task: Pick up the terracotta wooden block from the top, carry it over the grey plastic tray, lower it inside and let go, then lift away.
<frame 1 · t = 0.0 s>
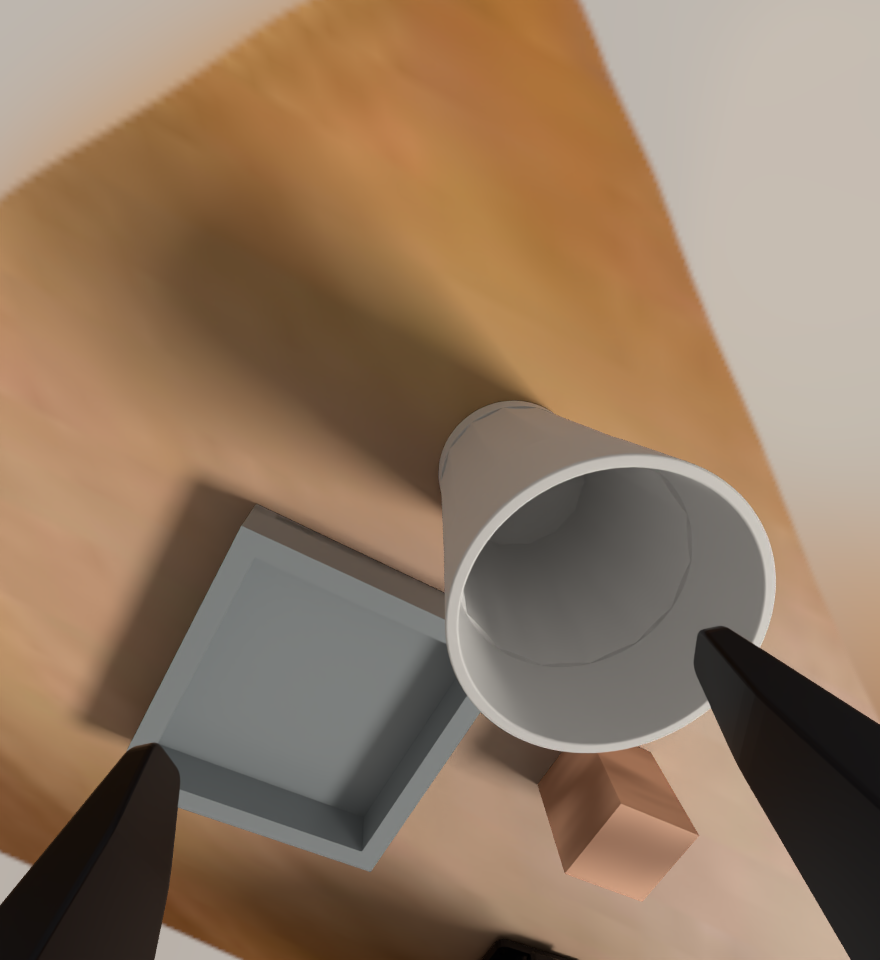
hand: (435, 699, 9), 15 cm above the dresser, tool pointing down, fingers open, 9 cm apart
tray: (320, 683, 27), on the dresser
block: (593, 767, 30), on the dresser
cup: (508, 470, 25), on the dresser
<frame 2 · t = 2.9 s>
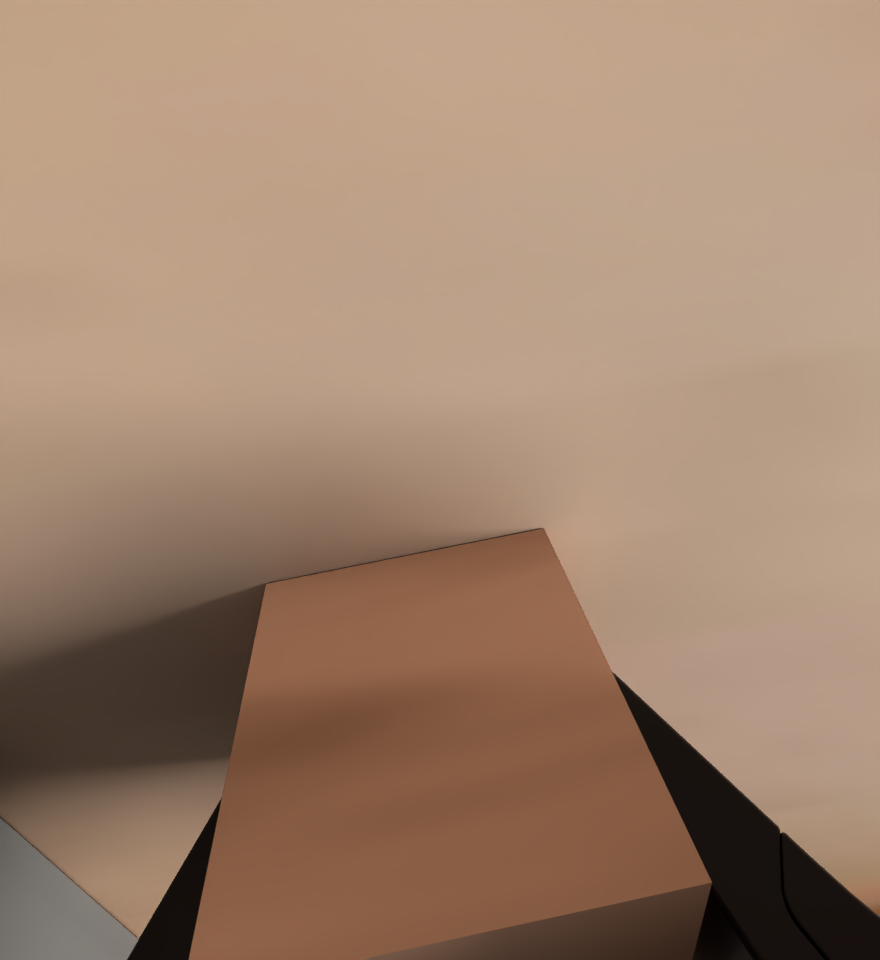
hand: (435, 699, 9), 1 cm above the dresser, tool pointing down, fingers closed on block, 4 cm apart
block: (428, 650, 10), on the dresser, touching gripper
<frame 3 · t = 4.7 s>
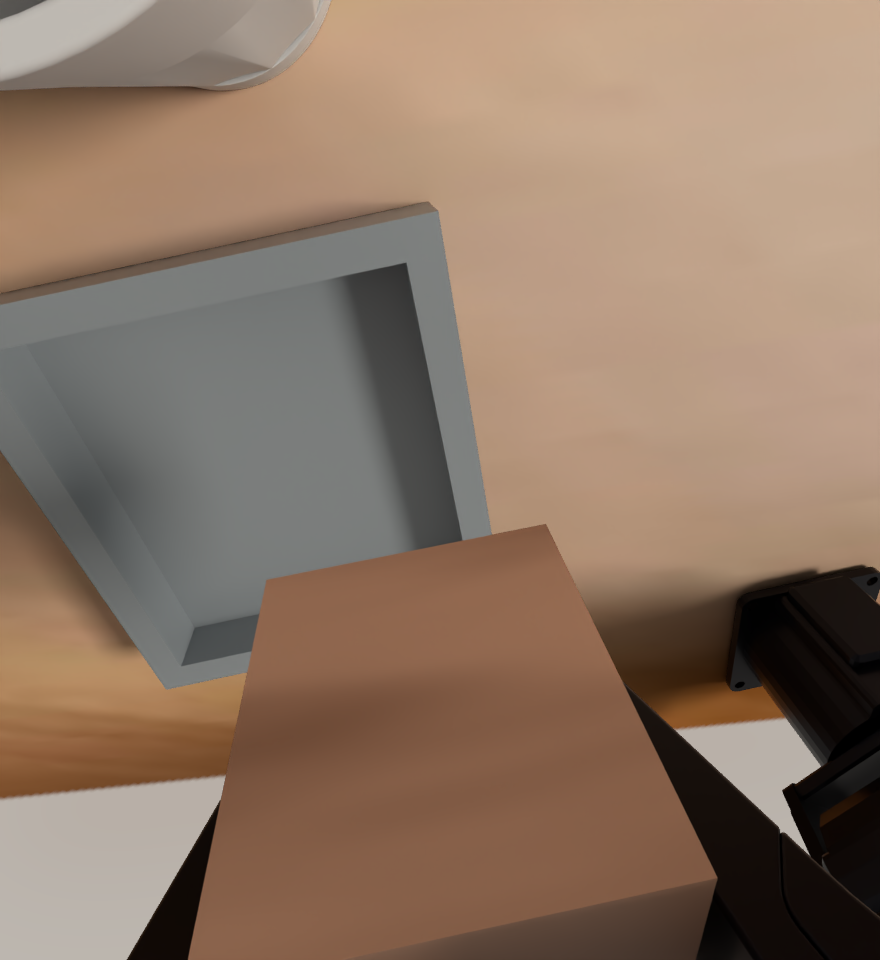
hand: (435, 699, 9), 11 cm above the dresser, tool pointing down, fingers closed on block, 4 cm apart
tray: (283, 462, 19), on the dresser
block: (429, 646, 10), point 10 cm above the dresser, touching gripper
when the fingers open (3 cm above the dresser, at t = 6.8 s): block drops 2 cm, resting on tray.
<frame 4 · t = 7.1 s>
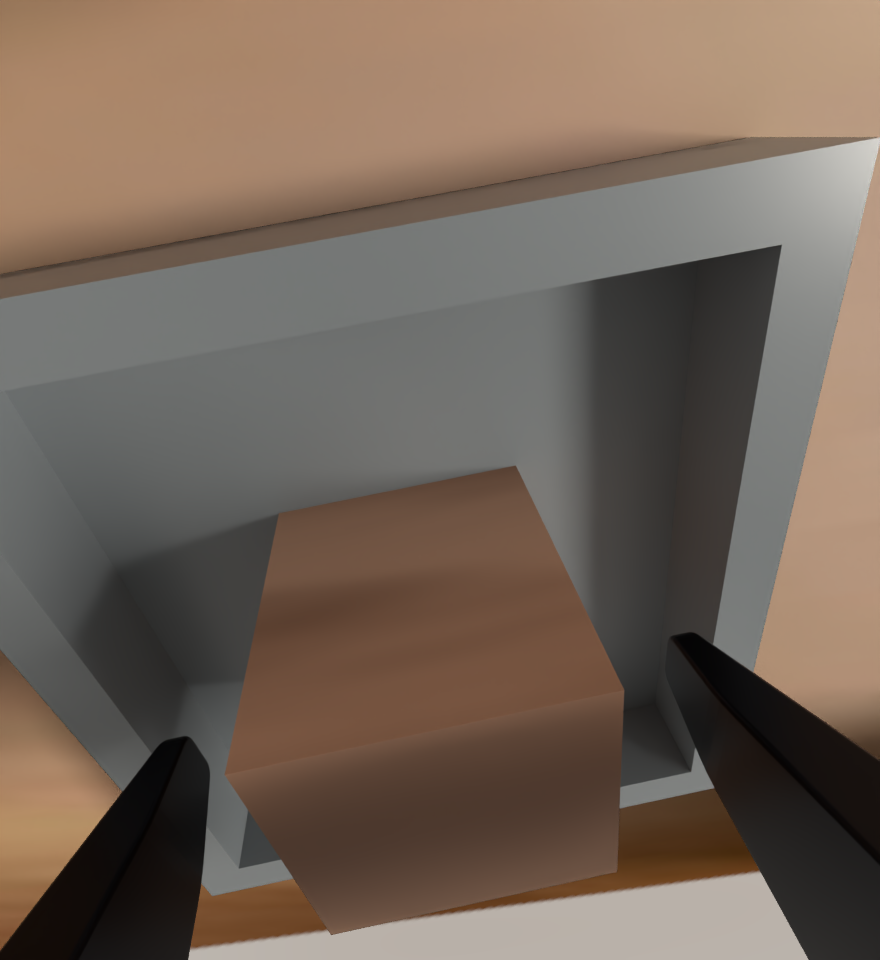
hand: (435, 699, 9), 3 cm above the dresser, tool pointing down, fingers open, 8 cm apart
tray: (414, 562, 12), on the dresser
block: (419, 577, 12), point 1 cm above the dresser, touching tray
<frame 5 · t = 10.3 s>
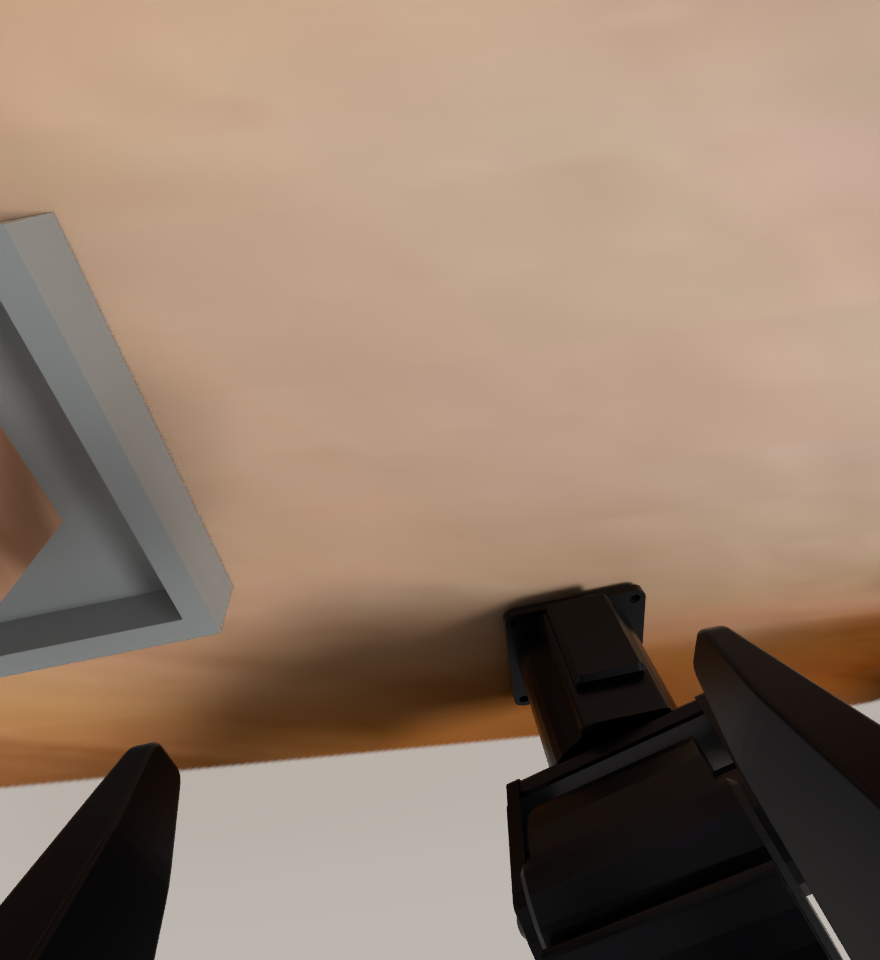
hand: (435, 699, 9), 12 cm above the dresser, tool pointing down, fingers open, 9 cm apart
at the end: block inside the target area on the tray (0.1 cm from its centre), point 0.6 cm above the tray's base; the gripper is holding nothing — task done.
